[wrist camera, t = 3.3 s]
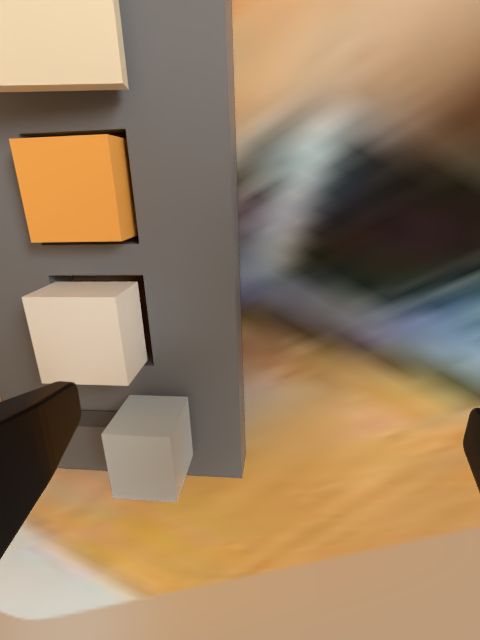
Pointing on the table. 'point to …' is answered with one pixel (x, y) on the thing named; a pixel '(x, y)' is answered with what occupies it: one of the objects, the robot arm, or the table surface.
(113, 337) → the off-white button
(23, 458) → the robot arm
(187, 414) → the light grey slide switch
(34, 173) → the orange button
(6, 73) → the cream rectangular plate
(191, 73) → the control panel
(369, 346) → the table surface
